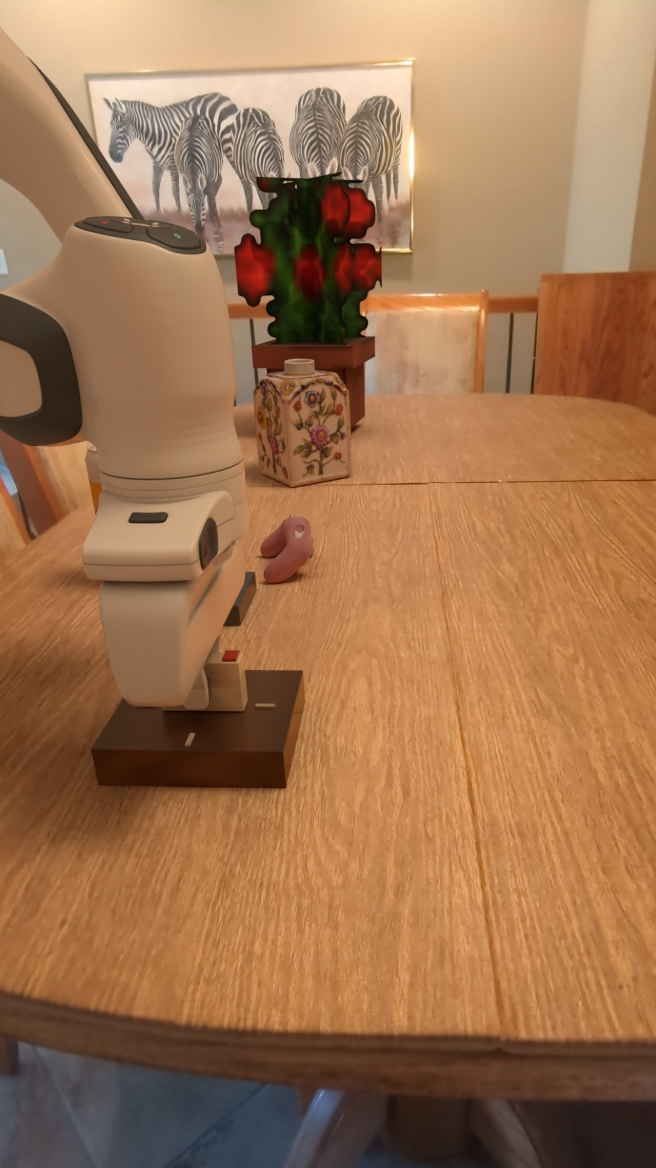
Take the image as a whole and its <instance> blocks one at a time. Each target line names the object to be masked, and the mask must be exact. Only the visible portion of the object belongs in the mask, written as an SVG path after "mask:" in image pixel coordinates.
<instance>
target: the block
mask: <svg viewBox="0 0 656 1168" xmlns="http://www.w3.org/2000/svg"><path fill="white" fill-rule="evenodd" d="M256 577H257V576H256V571H245V581H244V585H243V586H242V588H241V590H240V592H239V594H238V597H237V599H236V601H235V603H234V605H233V607H232V609H231V611H230V613H229V615H228V617H227V619H226V621H225V623H224V625H223V627H241V626H242V624H243V622H244V620H245V617H246V615H247V613H248V611H249V609H250V606H251V604H252V602H253V599H254V597H255V595H256V593H257V589H258V588H257V580H256Z"/></svg>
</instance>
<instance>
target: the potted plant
mask: <svg viewBox="0 0 656 1168" xmlns="http://www.w3.org/2000/svg"><path fill="white" fill-rule="evenodd" d="M342 173H343V171H337V172H333V173H329V174H323V175H319V176H318V175H317V176H313V177H308V178H307V177H304V178H303V177H282V176H280V177H279V176H276V177H275V176H255V182H256V186H257V188H258V190H259V191H260V192H262V193H264V194H276V196H275V197H273V198H271V199H270V200H269V202H268V206H267V208H266V209H261V208H260V209H258V208H256V209H253V210H251V212H250V213H249V216H248V221H249V223H250V225H251V226H252V227H253V228H255V229H258V231H259V239H260V243H258V241H257V238H256V237H255V236H254V234H252V233H249V232H247V233H245V234H243V235H242V236H241V238H240V243H238V244H236V245H235V246H233V252H234V263H235V274H236V275H235V277H236V287H237V296H239V297H242V298H243V299H245V303H246V304H247V305H248V306H249V307H251V308H256V307H258V306H259V305H260V303H261V301H262V297H271V296H272V297H273V299H271V300H269V301H268V302H266V305H265V312H266V314H267V315H268V316H269V317H272V318H273V319H274V320H272V321H271V322H269V323H268V325H267V327H266V331H267V334H268V336H270V337H271V338H274V339H272V340H268V341H264V342H261V343H257V344H254V345H251V356H252V369H266V375H267V374H269V373H275V372H281V371H284V361H286V360H291V359H311V360H314V370H323V371H328V372H334V373H336V374H338V376H339V378H340V380H341V381H343V384H344V385H345V386H346V389H347V390H348V392H349V409H350V429H351V430H353V429H354V428H355V425H356V424H357V423H359V422H360V421H361V420H363V419H364V418H365V417H366V397H365V395H366V393H365V391H366V390H365V363H366V362H368V361H370V360H372V359H373V358H375V357H376V336H374V335H364V334H362V332H364V331H366V330H367V329H368V327H369V320H368V318H367V316H365V315H362V314H361V303H362V302H364V301H366V299H368V295H369V292H370V291H373V290H374V289H375V288H376V285H377V282H379V287H380V288H381V289H382V288H383V262H382V261H383V257H382V256H383V254H382V253H383V249H382V244H381V245H380V247H379V250H378V251H376V247H375V245H374V244H373V243H370V242H352V240H362V239H364V238H365V237H366V235H367V232H368V230H369V229H370V228H373V227H374V226H375V224H376V206H375V202H374V201H372V200H371V199H368V197H367V193H366V191H365V189H363V188H362V187H350V184H362V183H363V182H365V179H345V178H344V179H341V178H340V179H339V178H337V177H340V176H341V175H342ZM353 427H354V428H353ZM352 428H353V429H352Z"/></svg>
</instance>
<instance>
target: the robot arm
mask: <svg viewBox="0 0 656 1168" xmlns="http://www.w3.org/2000/svg"><path fill="white" fill-rule="evenodd" d="M0 180H2V181H3V182H4V183H6V184H8V185H9V186H11V187H12V188H14V189H15V190H16V191H17V192H19V193H20V194H21V195H23V196H24V198H26V199H27V200H28V201H29V202H30V203H31V205H33V206H34V208H36V209H37V211H38V212H39V213H40V215H41V216H42V217H43V219H44V220H45V222H46V223H47V225H48V226H49V228H50V229H51V230H52V232H53V233H54V234H55V236H56V238H57V239H58V241H59V243H60V244H61V247H60V250H59V252H58V253H57V254H56V256H55V257H53V259H52V260H50V261H49V262H48V263H47V264H46V265H44V266H43V267H42V268H41V269H40V270H38V271H37V272H35V273H34V274H33V275H31V276H29V277H27V278H26V279H23V280H21V281H20V282H18V283H15V284H13V285H12V286H10V287H7V288H6V289H3V290H1V291H0V430H1V431H2V432H3V433H5V434H6V435H7V436H9V437H10V438H12V439H14V440H16V441H17V442H19V443H21V444H23V445H25V446H29V447H47V448H57V447H66V446H70V445H74V444H80V443H83V442H88V443H91V444H93V445H94V446H95V448H96V450H97V453H98V469H99V474H100V480H101V486H102V492H101V493H100V495H99V502H98V509H97V513H96V515H95V516H94V519H93V521H92V523H91V526H90V529H89V530H88V533H87V535H86V537H85V539H84V541H83V544H82V547H81V559H82V566H83V569H84V573H85V576H86V578H87V579H88V580H90V581H102V582H101V584H100V588H99V591H98V592H99V593H98V607H99V608H98V610H99V617H100V618H99V619H100V624H101V629H102V634H103V638H104V642H105V647H106V651H107V655H108V659H109V664H110V666H111V667H110V668H111V671H112V675H113V679H114V683H115V685H116V688H117V691H118V693H119V695H120V696H121V697H122V699H123V698H124V699H125V700H126V701H127V702H128V703H129V704H130V705H133V706H143V707H175V706H181V705H183V706H184V707H185V708H186V709H196V710H203V709H205V708H207V706H208V703H209V701H210V699H211V696H212V690H211V681H210V678H209V677H206V675H205V671H204V666H205V661H206V659H207V657H208V655H209V653H210V652H212V653H222V651H221V649H222V642H223V641H222V640H223V627H224V626H223V625H224V623H225V621H226V619H227V617H228V615H229V613H230V611H231V609H232V607H233V605H234V603H235V601H236V599H237V597H238V594H239V592H240V590H241V588H242V586H243V585H244V581H245V572H246V560H245V551H244V544H243V538H244V536H245V535H246V534H247V533H248V532H249V530H250V527H251V524H250V523H251V522H250V515H249V502H248V493H247V482H246V481H247V480H246V471H245V457H244V451H243V446H242V444H241V441H240V439H239V436H238V433H237V430H236V426H235V425H236V424H235V417H234V404H235V398H236V394H237V386H238V381H237V370H236V369H237V367H236V359H235V349H234V340H233V334H232V333H233V332H232V325H231V318H230V313H229V312H230V311H229V306H228V302H227V297H226V292H225V287H224V283H223V279H222V276H221V272H220V270H219V267H218V263H217V260H216V258H215V256H214V254H213V251H212V248H211V247H210V245H209V244H208V243H207V241H206V240H205V239H203V238H202V237H201V236H200V235H198V234H196V232H195V231H193V230H192V229H189V228H186V227H185V226H182V225H178V224H174V223H170V222H166V221H160V220H155V219H145V218H144V215H142V213H141V211H140V210H139V208H138V207H137V205H136V203H135V202H134V201H133V199H132V198H131V195H129V193H128V191H127V189H126V188H125V187H124V185H123V184H122V182H121V180H120V179H119V178H118V176H117V175H116V173H115V171H114V169H113V168H112V166H111V165H110V163H109V162H108V160H107V159H106V158H105V156H104V154H103V152H102V151H101V149H100V148H99V146H98V145H97V143H96V142H95V140H94V138H93V137H92V136H91V134H90V133H89V131H88V130H87V128H86V126H85V125H84V124H83V122H82V121H81V119H80V118H79V116H78V114H77V113H76V112H75V111H74V109H73V108H72V106H71V105H70V103H69V102H68V101H67V99H66V97H64V95H63V94H62V93H61V91H60V90H59V88H58V87H57V86H56V84H54V82H53V81H52V80H51V79H50V78H49V77H48V76H47V75H46V74H45V73H44V71H42V70H41V68H40V67H39V66H38V65H37V64H36V63H35V62H34V61H33V60H32V59H31V58H30V57H29V56H28V55H26V54H25V52H23V50H22V49H21V48H20V47H19V46H18V45H17V43H15V41H14V40H13V39H12V38H11V37H10V36H9V34H7V32H5V30H4V29H3V28H2V27H1V26H0Z"/></svg>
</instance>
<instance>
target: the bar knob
mask: <svg viewBox="0 0 656 1168" xmlns="http://www.w3.org/2000/svg"><path fill="white" fill-rule="evenodd" d="M244 659H245V658H244V653H243V652H241V651H240V650H239V649H225V651H224V652H220V653H212V652H210V653H209V655H208V657H207V659H206V661H205V666H204V671H205V675H206V677H209V678H210V681H211V690H212V696H211V699H210V701H209V703H208V706H207V708H205V709H203V710H196V709H186V708H185V707H184V706H183V705H181V706H175V707H162V710H163V711H244V709H245V706H246V704H247V701H248V696H247V687H246V677H245V670H246V669H245V660H244Z"/></svg>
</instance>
